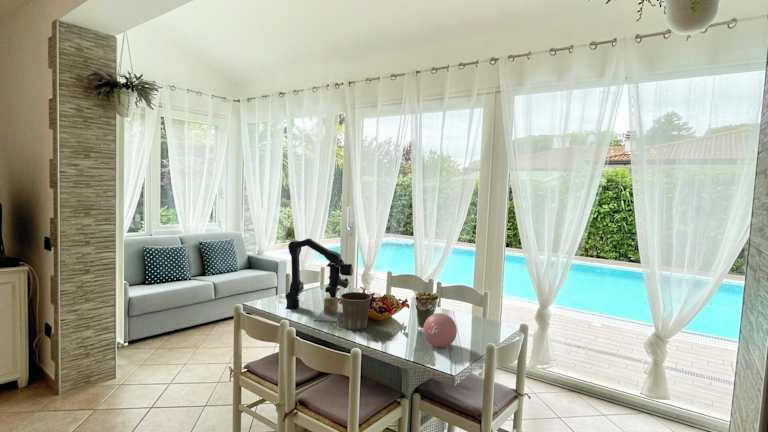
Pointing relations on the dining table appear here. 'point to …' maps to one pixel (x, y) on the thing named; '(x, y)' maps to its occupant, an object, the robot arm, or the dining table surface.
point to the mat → (328, 317)
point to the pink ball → (440, 330)
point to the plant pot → (355, 310)
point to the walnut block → (331, 305)
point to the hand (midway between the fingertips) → (333, 301)
